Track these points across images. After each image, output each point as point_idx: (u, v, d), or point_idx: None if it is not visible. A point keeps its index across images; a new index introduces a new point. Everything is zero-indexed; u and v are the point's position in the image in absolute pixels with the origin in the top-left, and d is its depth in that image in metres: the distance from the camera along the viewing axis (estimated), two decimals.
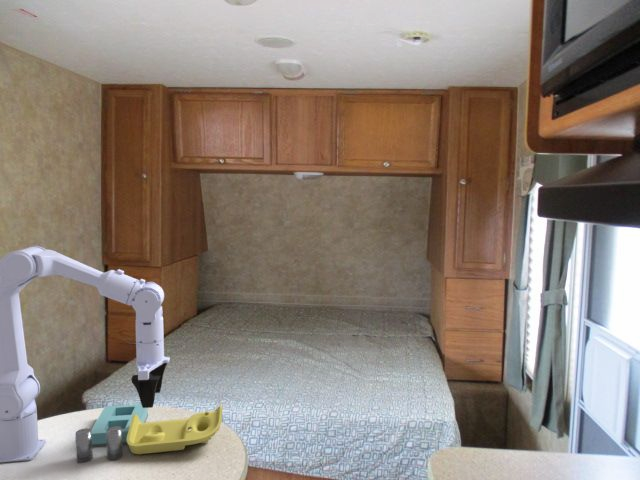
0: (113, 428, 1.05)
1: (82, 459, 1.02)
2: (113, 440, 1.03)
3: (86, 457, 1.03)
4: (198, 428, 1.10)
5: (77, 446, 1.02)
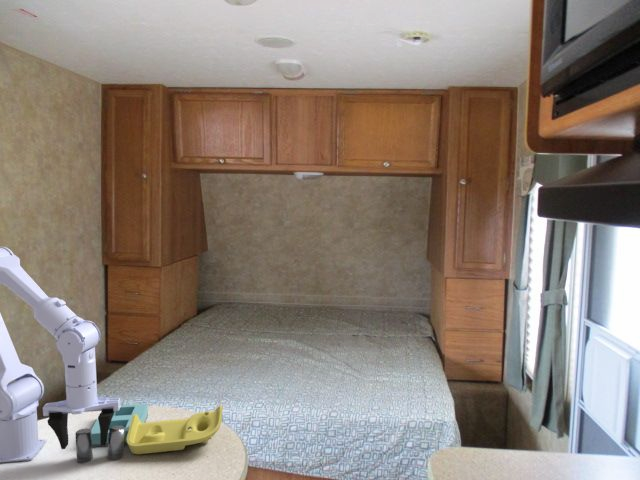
0: (116, 427, 1.05)
1: (82, 459, 1.02)
2: (115, 440, 1.03)
3: (86, 457, 1.03)
4: (198, 428, 1.10)
5: (77, 446, 1.02)
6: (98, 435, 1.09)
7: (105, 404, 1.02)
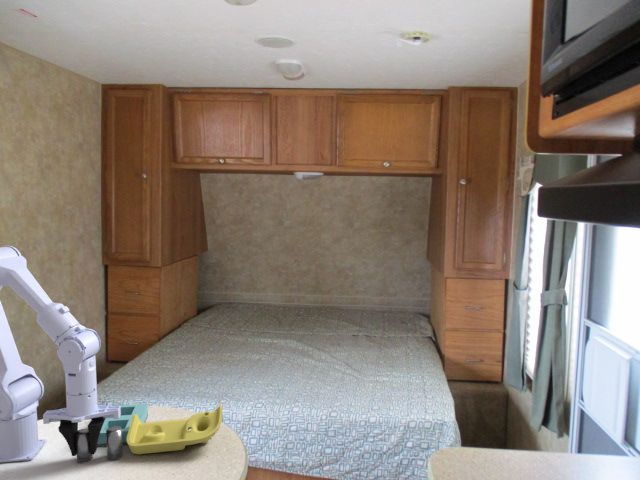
0: (113, 428, 1.05)
1: (82, 459, 1.02)
2: (113, 440, 1.03)
3: (86, 457, 1.03)
4: (198, 428, 1.10)
5: (77, 446, 1.02)
6: None
7: (105, 412, 1.02)
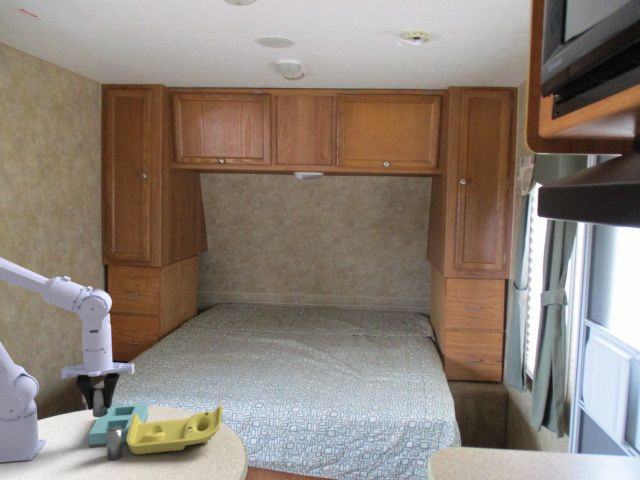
0: (113, 428, 1.05)
1: (98, 413, 1.08)
2: (113, 440, 1.03)
3: (101, 411, 1.08)
4: (198, 428, 1.10)
5: (93, 401, 1.08)
6: (98, 435, 1.09)
7: (120, 368, 1.08)
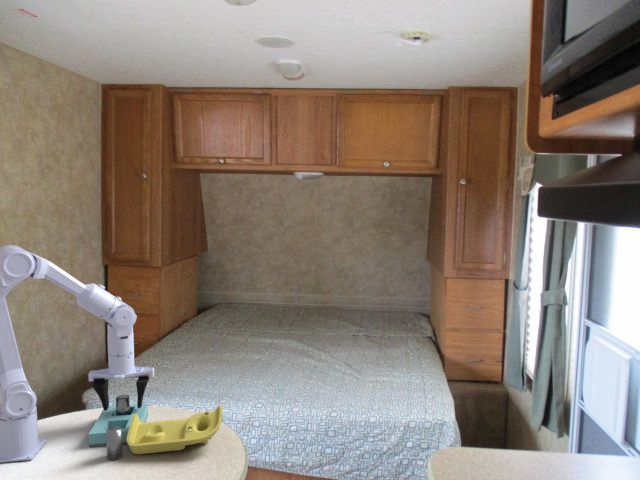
0: (113, 428, 1.05)
1: None
2: (113, 440, 1.03)
3: None
4: (198, 428, 1.10)
5: (117, 409, 1.18)
6: (98, 435, 1.09)
7: (142, 372, 1.18)
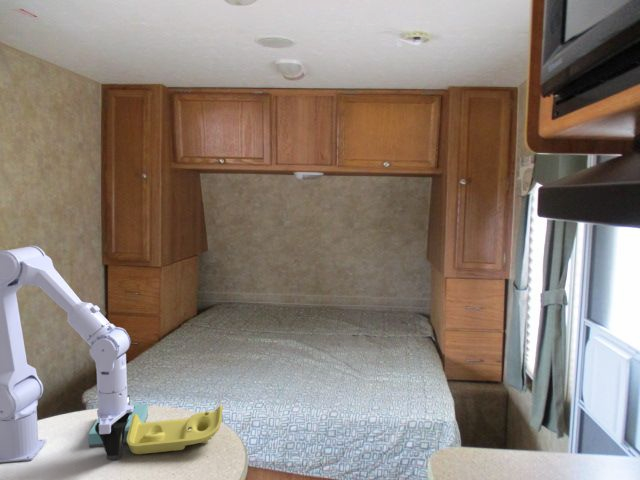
0: None
1: None
2: None
3: None
4: (198, 428, 1.10)
5: None
6: (98, 435, 1.09)
7: None
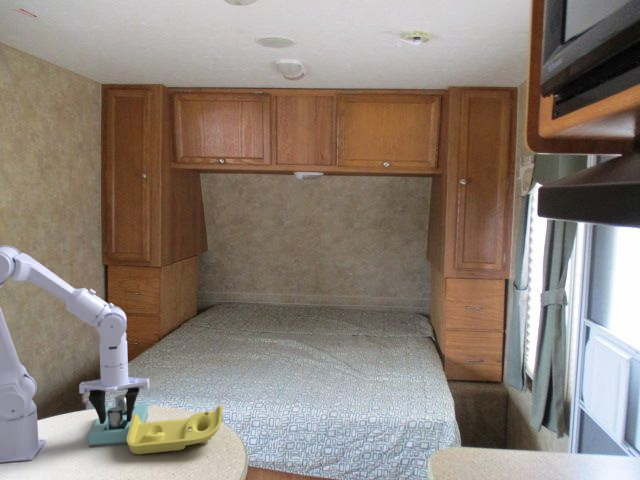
0: (117, 409, 1.12)
1: None
2: (108, 418, 1.12)
3: None
4: (198, 428, 1.10)
5: None
6: (98, 435, 1.09)
7: (136, 383, 1.11)
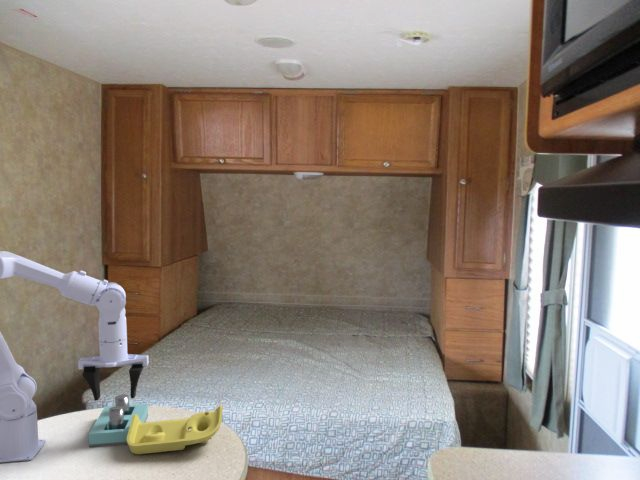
0: (119, 407, 1.13)
1: None
2: (109, 416, 1.12)
3: None
4: (198, 428, 1.10)
5: None
6: (98, 435, 1.09)
7: (135, 359, 1.11)
